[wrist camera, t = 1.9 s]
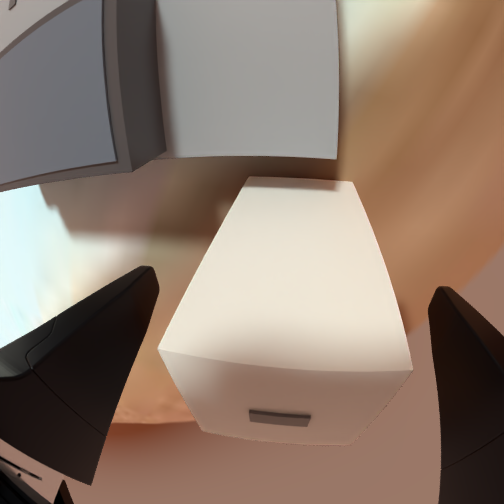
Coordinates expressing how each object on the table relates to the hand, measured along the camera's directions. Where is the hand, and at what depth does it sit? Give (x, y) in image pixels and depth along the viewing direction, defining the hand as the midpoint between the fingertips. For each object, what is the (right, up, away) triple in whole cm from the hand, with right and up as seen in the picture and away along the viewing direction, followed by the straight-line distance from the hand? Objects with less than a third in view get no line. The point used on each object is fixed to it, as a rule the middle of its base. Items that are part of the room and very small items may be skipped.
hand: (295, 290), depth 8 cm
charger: (+1, +2, +3) cm, 4 cm away
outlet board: (-7, +13, -2) cm, 14 cm away
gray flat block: (-9, +7, -1) cm, 11 cm away
